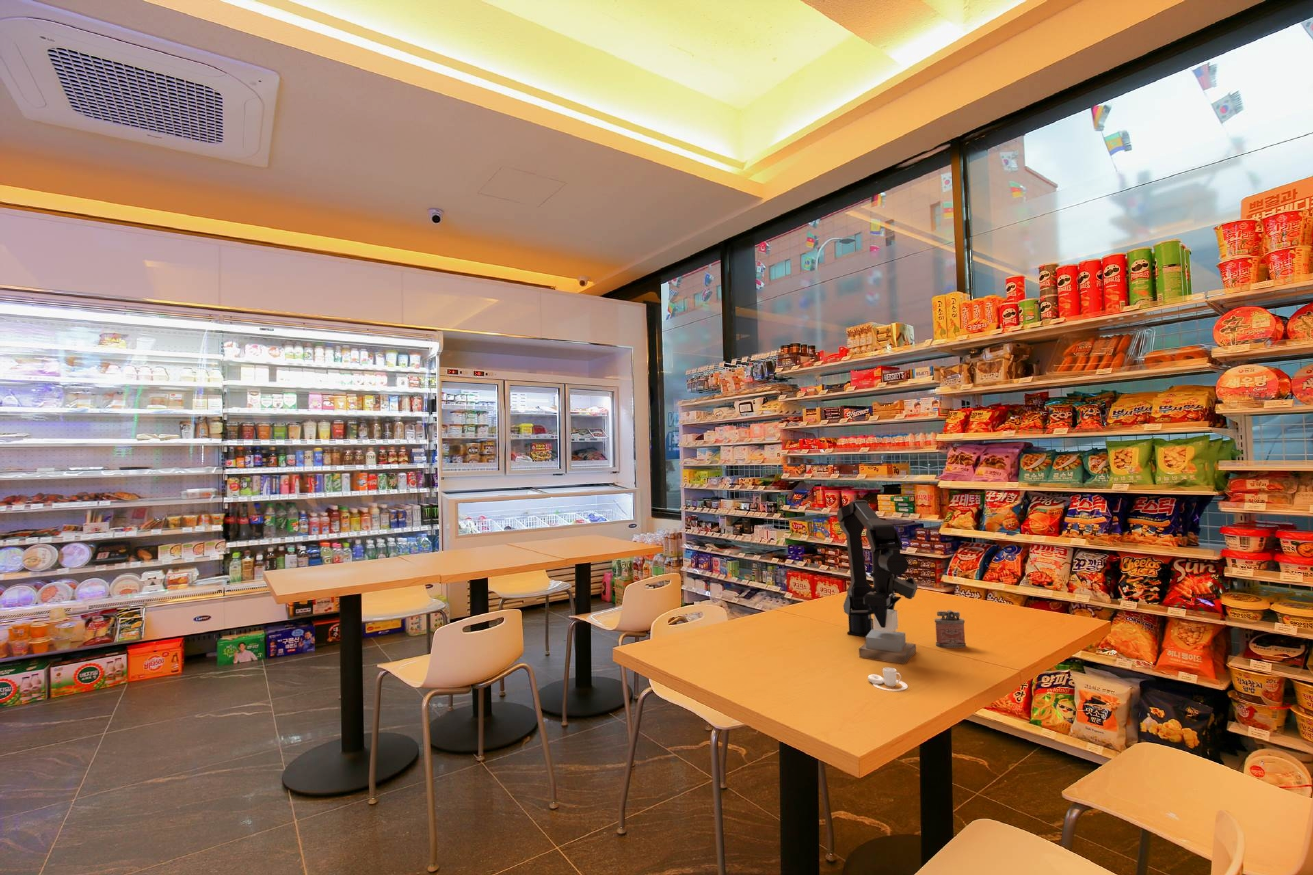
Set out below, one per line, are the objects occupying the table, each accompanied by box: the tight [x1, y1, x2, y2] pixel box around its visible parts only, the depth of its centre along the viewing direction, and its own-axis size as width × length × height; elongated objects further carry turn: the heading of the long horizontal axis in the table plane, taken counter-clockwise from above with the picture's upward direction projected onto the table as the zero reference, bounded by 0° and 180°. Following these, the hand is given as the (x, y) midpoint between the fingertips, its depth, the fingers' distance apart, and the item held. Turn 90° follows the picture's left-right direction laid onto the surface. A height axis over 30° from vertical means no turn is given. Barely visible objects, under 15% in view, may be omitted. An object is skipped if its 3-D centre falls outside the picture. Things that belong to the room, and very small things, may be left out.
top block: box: [865, 629, 907, 652], centre depth 171 cm, size 9×9×3 cm
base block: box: [858, 642, 917, 665], centre depth 171 cm, size 12×12×3 cm
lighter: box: [934, 609, 967, 649], centre depth 177 cm, size 8×3×10 cm, turn 84°
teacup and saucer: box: [867, 666, 909, 692], centre depth 148 cm, size 9×8×4 cm
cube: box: [873, 609, 899, 632], centre depth 171 cm, size 5×5×5 cm
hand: (885, 625), depth 171 cm, fingers closed on cube, 5 cm apart
